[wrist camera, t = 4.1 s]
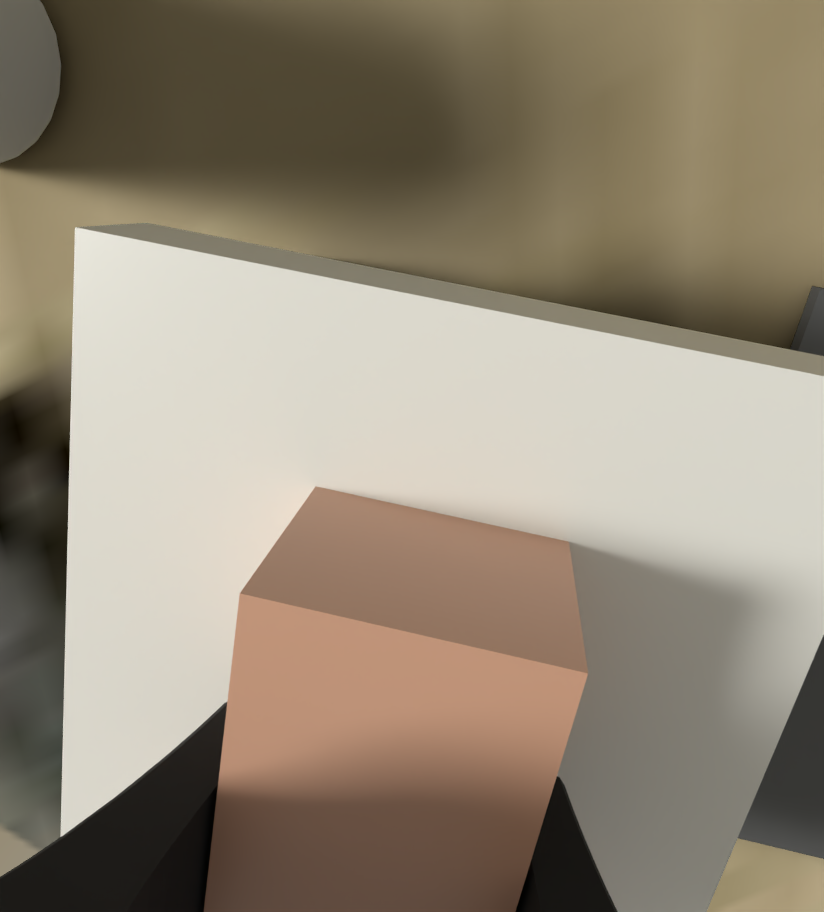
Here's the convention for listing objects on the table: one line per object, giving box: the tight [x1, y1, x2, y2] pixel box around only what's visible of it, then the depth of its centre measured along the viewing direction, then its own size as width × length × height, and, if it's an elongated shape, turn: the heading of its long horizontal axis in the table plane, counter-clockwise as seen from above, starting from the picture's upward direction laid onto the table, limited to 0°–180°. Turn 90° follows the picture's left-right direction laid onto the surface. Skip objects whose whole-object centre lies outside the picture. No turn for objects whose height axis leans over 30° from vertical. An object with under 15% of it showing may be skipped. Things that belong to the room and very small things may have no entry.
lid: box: [61, 223, 824, 912], centre depth 11 cm, size 14×11×5 cm
